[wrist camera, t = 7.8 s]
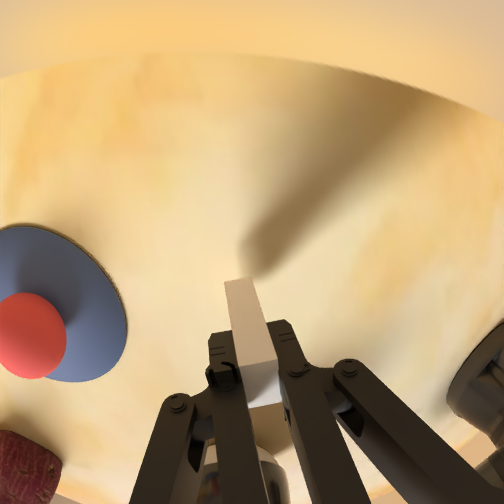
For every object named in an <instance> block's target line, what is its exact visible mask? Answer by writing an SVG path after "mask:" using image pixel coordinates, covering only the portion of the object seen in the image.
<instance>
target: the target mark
mask: <svg viewBox="0 0 504 504" xmlns="http://www.w3.org/2000/svg"><path fill="white" fill-rule="evenodd" d="M21 292H27V293H33V294H36V295H39V296H41V297H43V298H44V299H46V300H47V301H49V302H50V303H51V304H52V305H53V306H54V307H55V308H56V310H57V311H58V313H59V314H60V316H61V318H62V320H63V323H64V326H65V329H66V336H67V344H66V350H65V354H64V357H63V359H62V361H61V362H60V364H59V365H58V367H57V368H56V369H55V370H54V371H53V372H51V373H50V374H48V375H47V376H44V377H47V378H50V379H54V380H58V381H64V382H84V381H89V380H93V379H96V378H98V377H101V376H102V375H104V374H106V373H107V372H108V371H110V370H111V369H112V368H113V367H114V366H115V365H116V363H117V362H118V361H119V359H120V357H121V355H122V353H123V350H124V346H125V342H126V320H125V314H124V311H123V308H122V305H121V302H120V300H119V297H118V295H117V293H116V291H115V289H114V288H113V286H112V284H111V282H110V281H109V279H108V278H107V277H106V275H105V274H104V272H103V271H102V270H101V269H100V268H99V266H98V265H97V264H96V263H95V262H94V261H93V260H92V259H91V258H90V257H89V256H88V255H87V254H86V253H85V252H83V251H82V250H81V249H80V248H78V247H77V246H76V245H74V244H73V243H72V242H70V241H68V240H66V239H65V238H63V237H61V236H59V235H57V234H55V233H52V232H50V231H47V230H44V229H40V228H36V227H28V226H20V227H12V228H7V229H5V230H2V231H0V303H1V302H2V301H3V300H4V299H5V298H7V297H8V296H10V295H13V294H16V293H21Z"/></svg>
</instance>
